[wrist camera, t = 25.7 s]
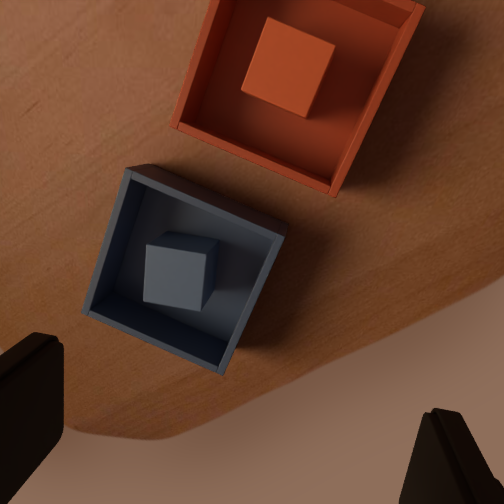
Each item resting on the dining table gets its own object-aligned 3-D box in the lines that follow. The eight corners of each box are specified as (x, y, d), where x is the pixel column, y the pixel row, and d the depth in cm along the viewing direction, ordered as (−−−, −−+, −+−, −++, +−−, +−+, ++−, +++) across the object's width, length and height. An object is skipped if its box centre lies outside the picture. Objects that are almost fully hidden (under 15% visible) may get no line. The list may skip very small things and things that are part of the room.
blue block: (220, 239, 35) (206, 254, 30) (214, 290, 36) (200, 312, 32) (166, 230, 35) (145, 244, 31) (162, 281, 36) (142, 301, 32)
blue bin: (289, 223, 34) (285, 237, 30) (233, 348, 38) (222, 376, 33) (148, 163, 34) (125, 167, 30) (107, 292, 38) (80, 313, 34)
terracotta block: (333, 57, 30) (336, 44, 26) (306, 120, 31) (305, 117, 27) (274, 32, 30) (267, 15, 26) (250, 96, 31) (240, 90, 27)
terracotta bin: (410, 24, 29) (426, 6, 25) (332, 189, 33) (335, 198, 29) (246, -44, 29) (234, -75, 25) (187, 127, 33) (168, 126, 29)
